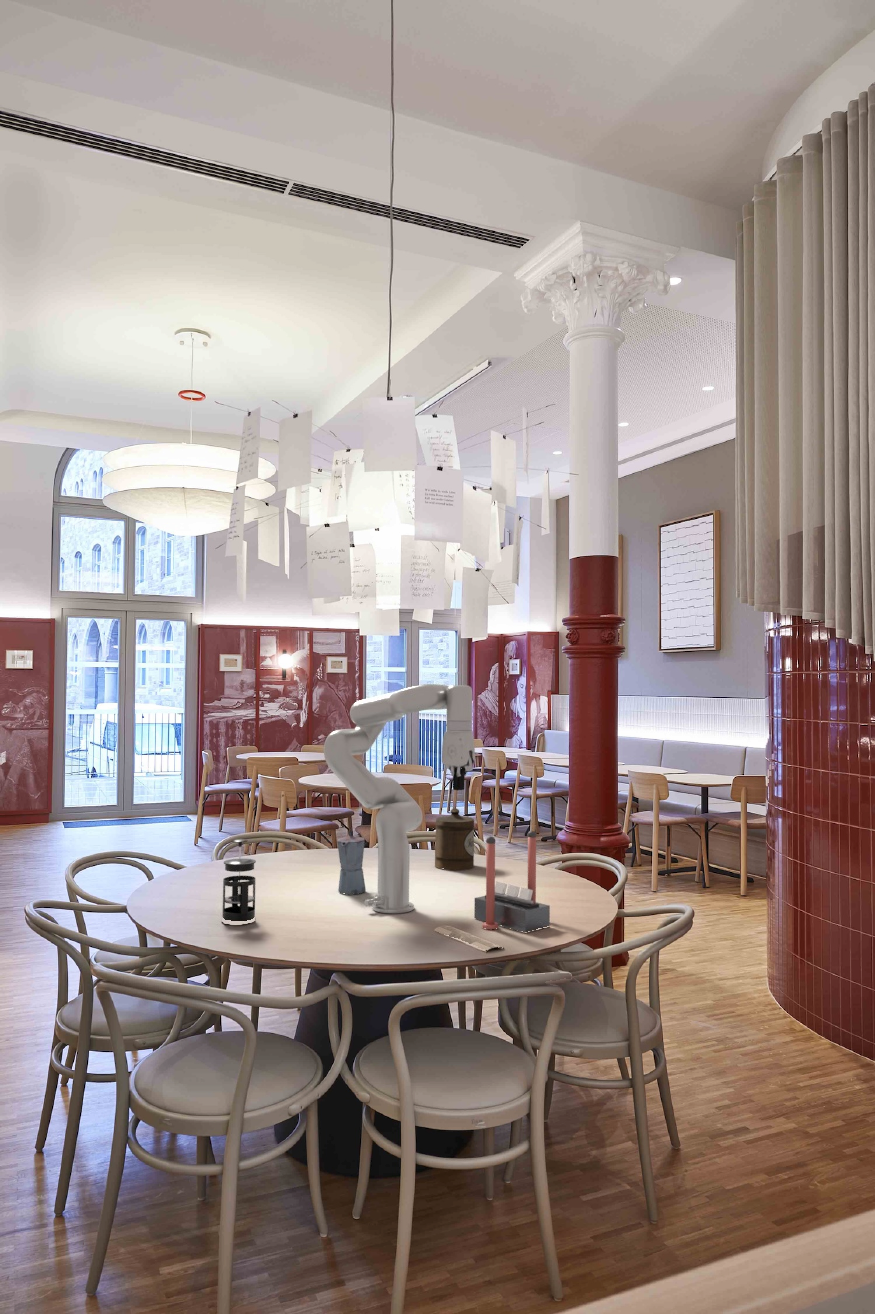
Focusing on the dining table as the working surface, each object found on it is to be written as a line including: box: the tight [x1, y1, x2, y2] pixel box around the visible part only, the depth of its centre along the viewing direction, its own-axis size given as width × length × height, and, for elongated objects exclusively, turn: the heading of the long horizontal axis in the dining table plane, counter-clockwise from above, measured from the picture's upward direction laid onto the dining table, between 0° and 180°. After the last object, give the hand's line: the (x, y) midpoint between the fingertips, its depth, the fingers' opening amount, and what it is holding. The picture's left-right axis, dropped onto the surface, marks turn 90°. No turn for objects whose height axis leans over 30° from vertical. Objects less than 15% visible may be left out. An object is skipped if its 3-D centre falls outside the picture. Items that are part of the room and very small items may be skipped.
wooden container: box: [434, 807, 475, 871], centre depth 326 cm, size 15×15×22 cm
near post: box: [481, 835, 499, 931], centre depth 239 cm, size 4×4×25 cm
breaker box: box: [473, 894, 551, 932], centre depth 244 cm, size 10×20×7 cm, turn 41°
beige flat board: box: [433, 925, 505, 951], centre depth 226 cm, size 24×7×2 cm, turn 34°
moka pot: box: [336, 830, 367, 895], centre depth 282 cm, size 10×15×20 cm, turn 166°
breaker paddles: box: [495, 881, 534, 904], centre depth 244 cm, size 1×16×4 cm, turn 41°
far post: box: [527, 830, 537, 902], centre depth 250 cm, size 4×4×25 cm
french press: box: [221, 838, 256, 921], centre depth 243 cm, size 12×9×23 cm
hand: (458, 789), depth 251 cm, fingers closed
